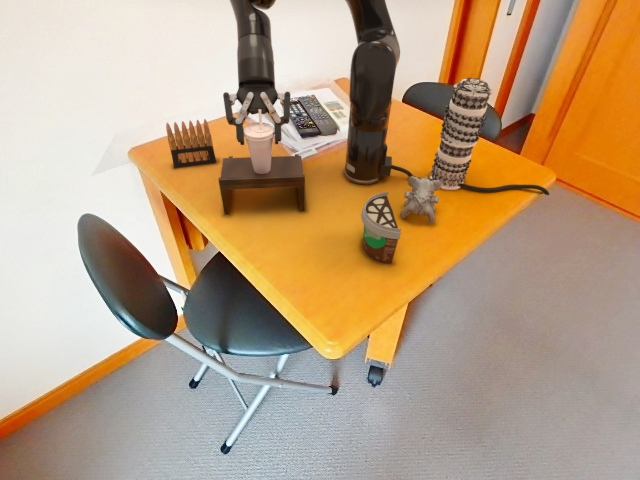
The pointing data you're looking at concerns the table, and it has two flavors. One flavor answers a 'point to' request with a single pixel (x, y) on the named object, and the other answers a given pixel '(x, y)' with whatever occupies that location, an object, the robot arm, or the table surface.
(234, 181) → the stand
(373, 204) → the food container
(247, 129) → the smoothie
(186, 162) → the ammunition clip
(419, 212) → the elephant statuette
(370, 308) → the table surface
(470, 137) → the white patterned cylinder
